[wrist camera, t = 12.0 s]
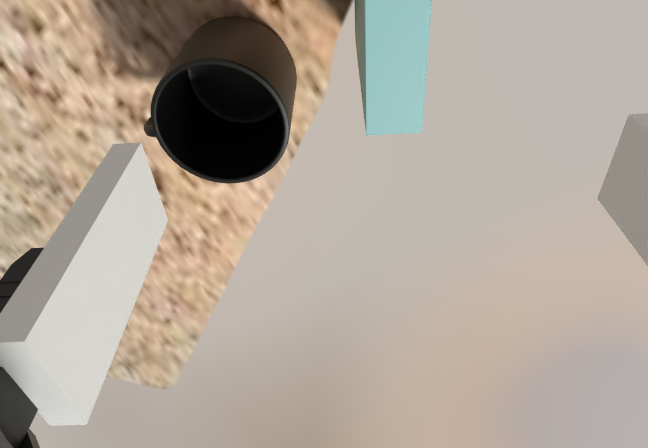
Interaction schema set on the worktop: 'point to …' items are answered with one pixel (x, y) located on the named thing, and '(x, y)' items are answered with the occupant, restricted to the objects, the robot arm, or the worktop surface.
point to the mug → (226, 102)
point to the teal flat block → (392, 63)
